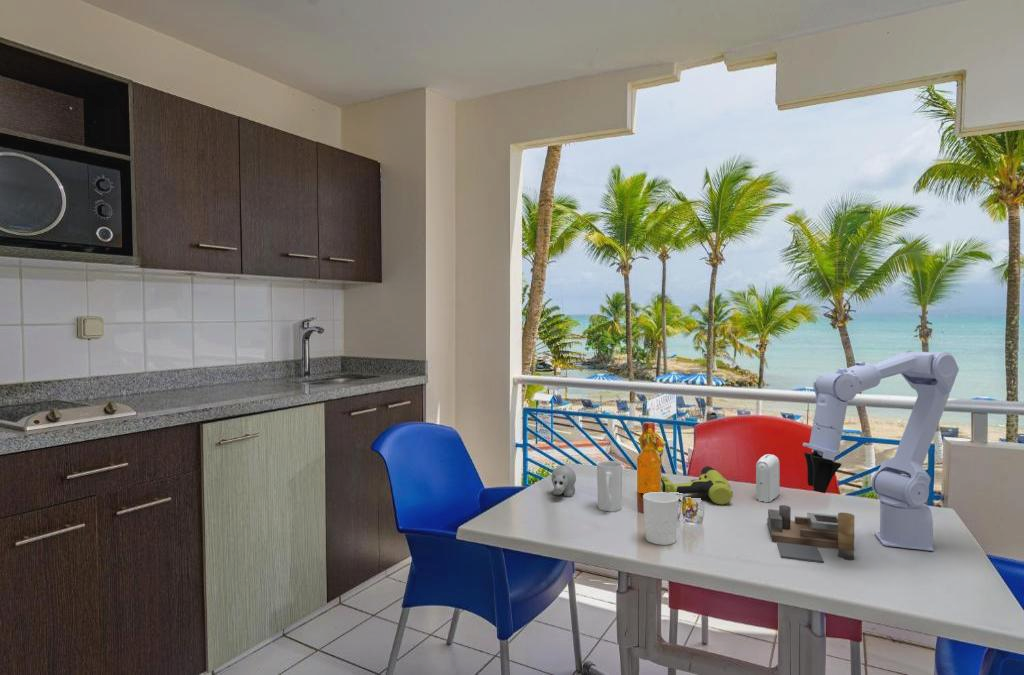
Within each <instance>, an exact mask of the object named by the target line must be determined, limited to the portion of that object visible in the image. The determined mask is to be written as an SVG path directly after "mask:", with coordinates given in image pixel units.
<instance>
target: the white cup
mask: <svg viewBox="0 0 1024 675" xmlns="http://www.w3.org/2000/svg"><path fill="white" fill-rule="evenodd" d="M642 502H643V503H642V504H643V520H644V533H645V539H646V541H647V542H649V543H650V544H654V545H660V546H669V545H672V544H674V543H676V541H677V529H678V516H679V515H678V513H679V497H678V495H677V494H675V495H674V494H671V493H666V492H648V493H645V494H644V495H643V494H642Z"/></svg>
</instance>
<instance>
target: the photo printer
mask: <svg viewBox="0 0 1024 675" xmlns="http://www.w3.org/2000/svg"><path fill="white" fill-rule="evenodd" d="M779 495H780V460H779V458H778V457H777V456H776V455H774V454H770V453H768V454H764V455H763V456H761V457H760V458H759V459H758V460H757V462H756V465H755V499H756V500H757V499H758V500H760V501H766V502H768V503H770V502H772V501H774V500H775V499H776V498H777V497H779ZM773 499H774V500H773ZM758 500H757V501H758ZM760 501H759V502H760Z"/></svg>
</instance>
